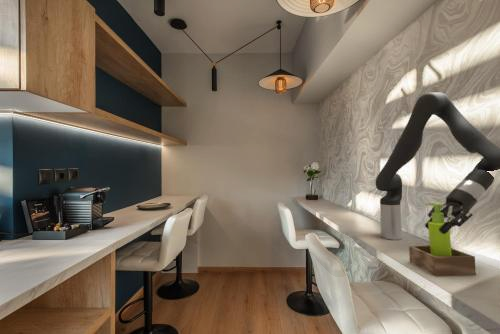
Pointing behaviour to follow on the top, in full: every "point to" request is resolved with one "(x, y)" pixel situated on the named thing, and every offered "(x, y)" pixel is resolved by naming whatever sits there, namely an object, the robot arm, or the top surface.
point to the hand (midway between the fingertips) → (434, 229)
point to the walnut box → (443, 262)
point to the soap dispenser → (438, 234)
